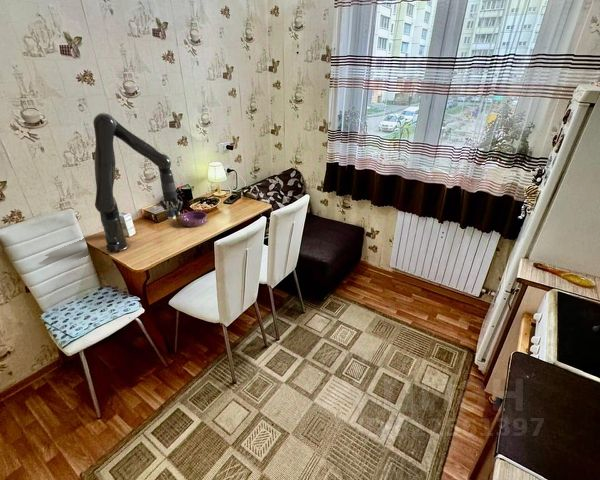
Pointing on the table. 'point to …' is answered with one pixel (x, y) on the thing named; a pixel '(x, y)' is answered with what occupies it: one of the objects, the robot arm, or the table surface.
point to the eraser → (171, 214)
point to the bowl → (194, 218)
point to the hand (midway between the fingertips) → (174, 216)
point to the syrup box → (127, 224)
